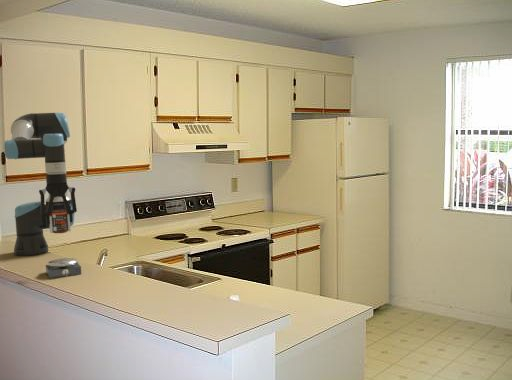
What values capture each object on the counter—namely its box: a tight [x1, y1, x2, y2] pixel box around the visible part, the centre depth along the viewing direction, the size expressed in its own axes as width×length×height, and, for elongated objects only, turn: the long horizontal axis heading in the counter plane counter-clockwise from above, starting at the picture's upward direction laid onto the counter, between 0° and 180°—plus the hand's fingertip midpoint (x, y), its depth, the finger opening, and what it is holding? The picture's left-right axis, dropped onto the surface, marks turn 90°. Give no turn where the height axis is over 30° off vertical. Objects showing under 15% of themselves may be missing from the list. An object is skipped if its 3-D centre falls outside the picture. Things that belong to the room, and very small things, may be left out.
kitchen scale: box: [45, 257, 82, 279], centre depth 229 cm, size 12×12×5 cm
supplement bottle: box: [51, 204, 69, 234], centre depth 227 cm, size 6×6×11 cm
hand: (60, 231), depth 228 cm, fingers closed on supplement bottle, 6 cm apart
